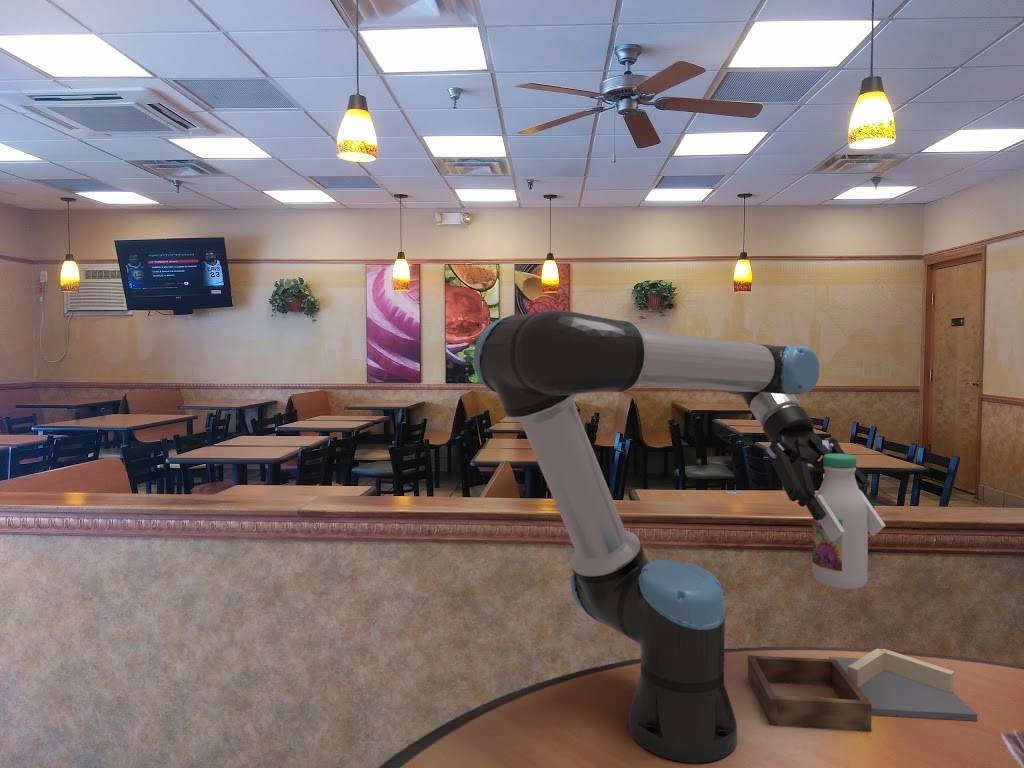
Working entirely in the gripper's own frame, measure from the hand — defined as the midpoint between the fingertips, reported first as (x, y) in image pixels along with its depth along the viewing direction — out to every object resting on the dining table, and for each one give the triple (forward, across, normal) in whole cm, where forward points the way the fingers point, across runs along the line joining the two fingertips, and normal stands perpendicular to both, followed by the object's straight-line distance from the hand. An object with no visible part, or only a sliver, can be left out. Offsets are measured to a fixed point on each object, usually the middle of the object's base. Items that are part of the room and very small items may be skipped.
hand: (858, 533), depth 97 cm
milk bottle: (+4, 0, -9) cm, 9 cm away
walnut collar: (+16, +7, -22) cm, 28 cm away
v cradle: (+18, -10, -21) cm, 29 cm away
